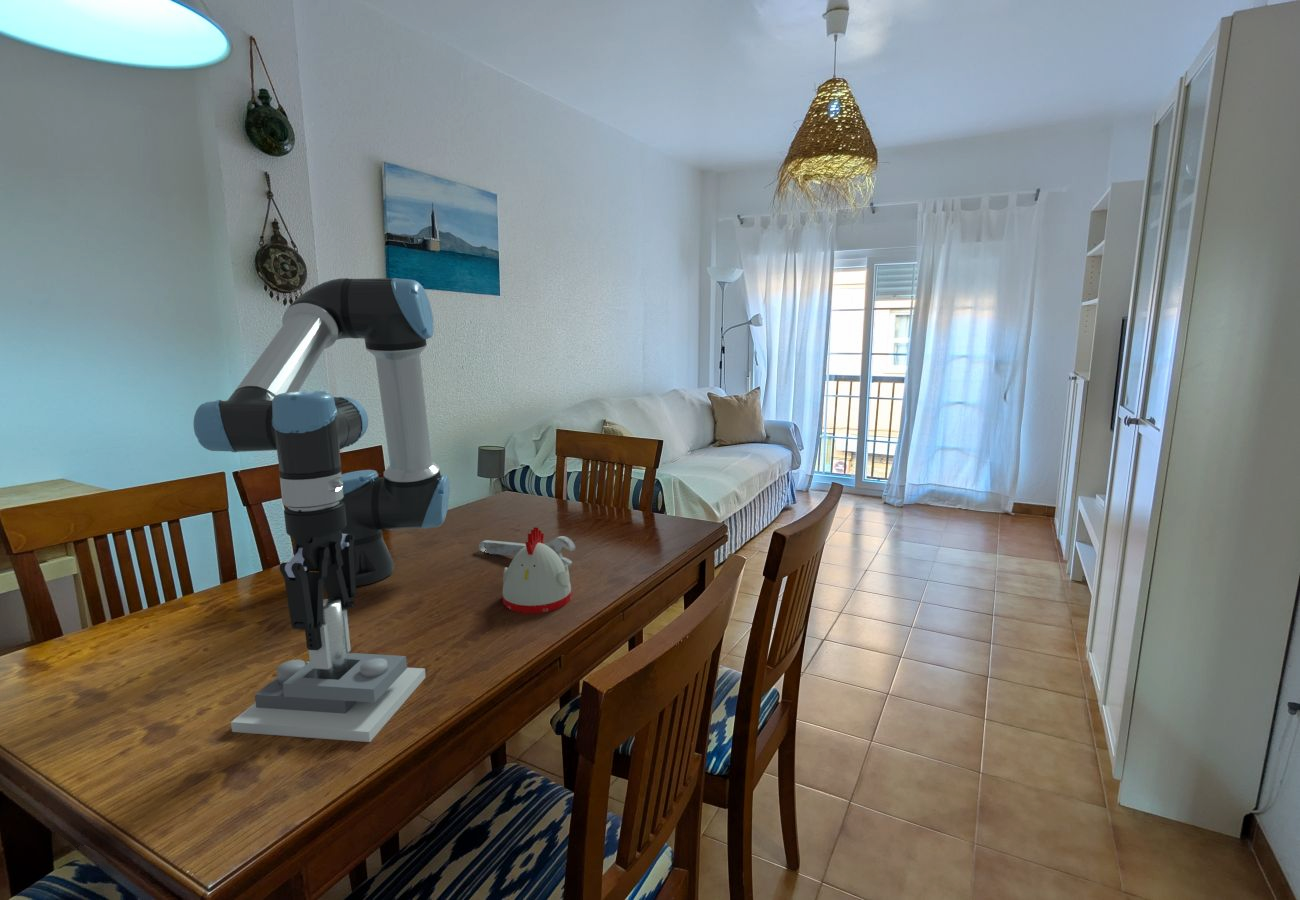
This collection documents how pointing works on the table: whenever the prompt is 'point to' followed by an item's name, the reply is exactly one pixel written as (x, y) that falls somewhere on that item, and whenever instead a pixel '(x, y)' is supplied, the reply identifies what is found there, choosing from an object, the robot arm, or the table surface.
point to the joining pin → (334, 640)
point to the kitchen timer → (536, 578)
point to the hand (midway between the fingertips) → (331, 658)
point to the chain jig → (332, 699)
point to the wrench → (514, 548)
